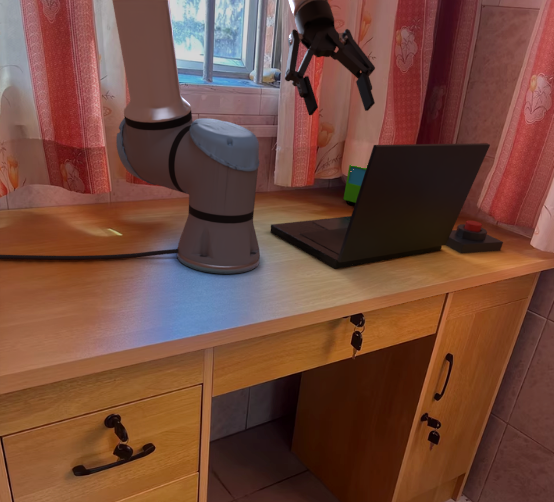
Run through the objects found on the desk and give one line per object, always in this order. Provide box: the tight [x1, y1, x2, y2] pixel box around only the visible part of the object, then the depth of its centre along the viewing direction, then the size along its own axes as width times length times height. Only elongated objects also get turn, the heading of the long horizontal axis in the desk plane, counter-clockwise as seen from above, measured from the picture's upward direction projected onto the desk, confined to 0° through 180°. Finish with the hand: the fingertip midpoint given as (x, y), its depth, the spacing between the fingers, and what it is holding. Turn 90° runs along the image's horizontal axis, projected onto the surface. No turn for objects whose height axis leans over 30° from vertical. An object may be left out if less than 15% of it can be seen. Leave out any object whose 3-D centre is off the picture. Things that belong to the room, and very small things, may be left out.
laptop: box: [270, 215, 443, 270], centre depth 123 cm, size 22×31×2 cm
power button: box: [464, 220, 483, 232], centre depth 127 cm, size 4×4×2 cm
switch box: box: [445, 223, 504, 255], centre depth 129 cm, size 12×9×4 cm
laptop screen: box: [337, 142, 491, 262], centre depth 108 cm, size 22×31×1 cm
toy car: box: [343, 164, 366, 204], centre depth 150 cm, size 10×13×10 cm
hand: (342, 109), depth 113 cm, fingers open, 13 cm apart
